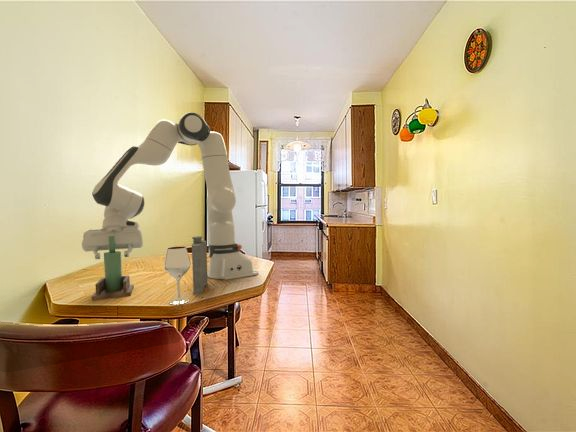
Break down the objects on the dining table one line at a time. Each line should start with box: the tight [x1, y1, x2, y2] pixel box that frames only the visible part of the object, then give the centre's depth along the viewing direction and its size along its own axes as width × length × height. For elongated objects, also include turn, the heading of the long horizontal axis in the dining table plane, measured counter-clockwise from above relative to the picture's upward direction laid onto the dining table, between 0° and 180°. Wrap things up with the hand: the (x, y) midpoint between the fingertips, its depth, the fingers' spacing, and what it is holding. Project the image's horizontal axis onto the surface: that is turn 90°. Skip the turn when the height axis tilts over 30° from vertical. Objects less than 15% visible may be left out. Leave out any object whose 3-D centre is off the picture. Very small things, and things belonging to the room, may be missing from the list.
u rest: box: [91, 274, 135, 301], centre depth 115 cm, size 12×12×5 cm
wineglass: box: [163, 246, 192, 306], centre depth 102 cm, size 8×8×18 cm
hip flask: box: [191, 236, 209, 295], centre depth 118 cm, size 16×4×20 cm, turn 6°
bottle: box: [103, 236, 123, 292], centre depth 115 cm, size 6×6×20 cm
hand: (112, 257), depth 114 cm, fingers open, 8 cm apart
